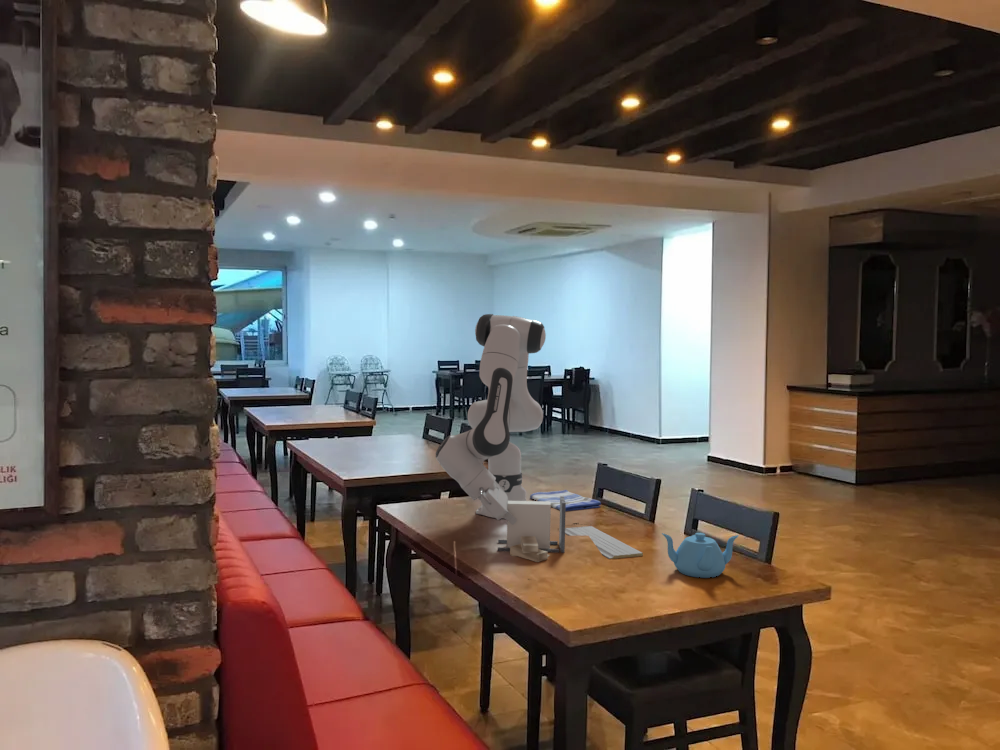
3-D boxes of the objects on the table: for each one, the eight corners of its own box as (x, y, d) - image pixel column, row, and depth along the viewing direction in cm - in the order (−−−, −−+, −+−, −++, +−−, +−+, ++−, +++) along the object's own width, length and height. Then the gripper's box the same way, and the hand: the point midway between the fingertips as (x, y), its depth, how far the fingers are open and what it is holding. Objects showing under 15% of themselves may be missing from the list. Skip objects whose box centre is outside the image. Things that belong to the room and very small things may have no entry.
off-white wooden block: (506, 549, 219) (507, 500, 219) (549, 550, 219) (550, 501, 218) (506, 553, 216) (507, 503, 215) (549, 554, 215) (550, 504, 214)
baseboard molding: (604, 561, 211) (642, 558, 215) (605, 551, 211) (643, 548, 215) (556, 533, 240) (591, 530, 244) (557, 524, 240) (591, 521, 244)
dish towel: (566, 495, 296) (567, 488, 295) (603, 508, 275) (603, 500, 275) (527, 499, 287) (528, 492, 287) (562, 513, 267) (562, 505, 267)
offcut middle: (519, 551, 213) (520, 544, 213) (547, 559, 206) (547, 551, 206) (510, 553, 210) (510, 546, 210) (537, 562, 203) (537, 554, 203)
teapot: (692, 560, 212) (693, 523, 211) (741, 573, 201) (742, 534, 200) (659, 571, 202) (660, 532, 202) (709, 585, 191) (711, 544, 190)
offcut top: (535, 543, 214) (535, 536, 214) (538, 552, 205) (538, 545, 205) (520, 543, 213) (520, 536, 213) (523, 552, 205) (523, 545, 204)
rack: (498, 546, 222) (499, 495, 221) (562, 548, 222) (563, 496, 221) (497, 555, 213) (498, 501, 212) (564, 556, 213) (565, 503, 212)
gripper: (487, 484, 206) (523, 521, 206) (490, 470, 226) (522, 504, 227) (470, 500, 206) (506, 537, 207) (474, 485, 227) (507, 519, 227)
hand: (514, 520), depth 217 cm, fingers closed on off-white wooden block, 4 cm apart
